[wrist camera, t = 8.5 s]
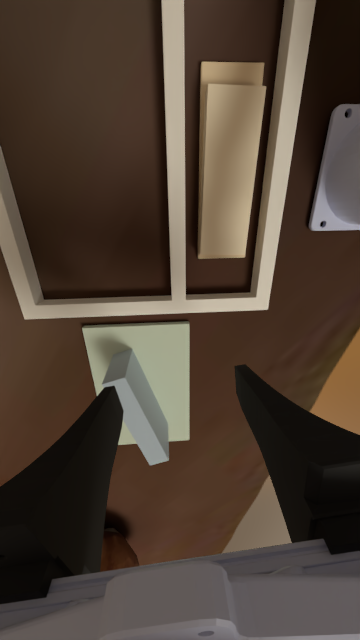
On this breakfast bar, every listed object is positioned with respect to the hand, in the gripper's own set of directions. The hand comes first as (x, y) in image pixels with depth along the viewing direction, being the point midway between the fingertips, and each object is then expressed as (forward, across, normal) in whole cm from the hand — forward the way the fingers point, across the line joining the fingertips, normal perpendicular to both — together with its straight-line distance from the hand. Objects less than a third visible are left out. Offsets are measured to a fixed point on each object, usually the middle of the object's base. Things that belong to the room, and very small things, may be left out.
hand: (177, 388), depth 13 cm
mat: (+9, +4, +7) cm, 13 cm away
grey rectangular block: (+8, +4, +7) cm, 12 cm away
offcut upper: (+9, -6, -11) cm, 15 cm away
